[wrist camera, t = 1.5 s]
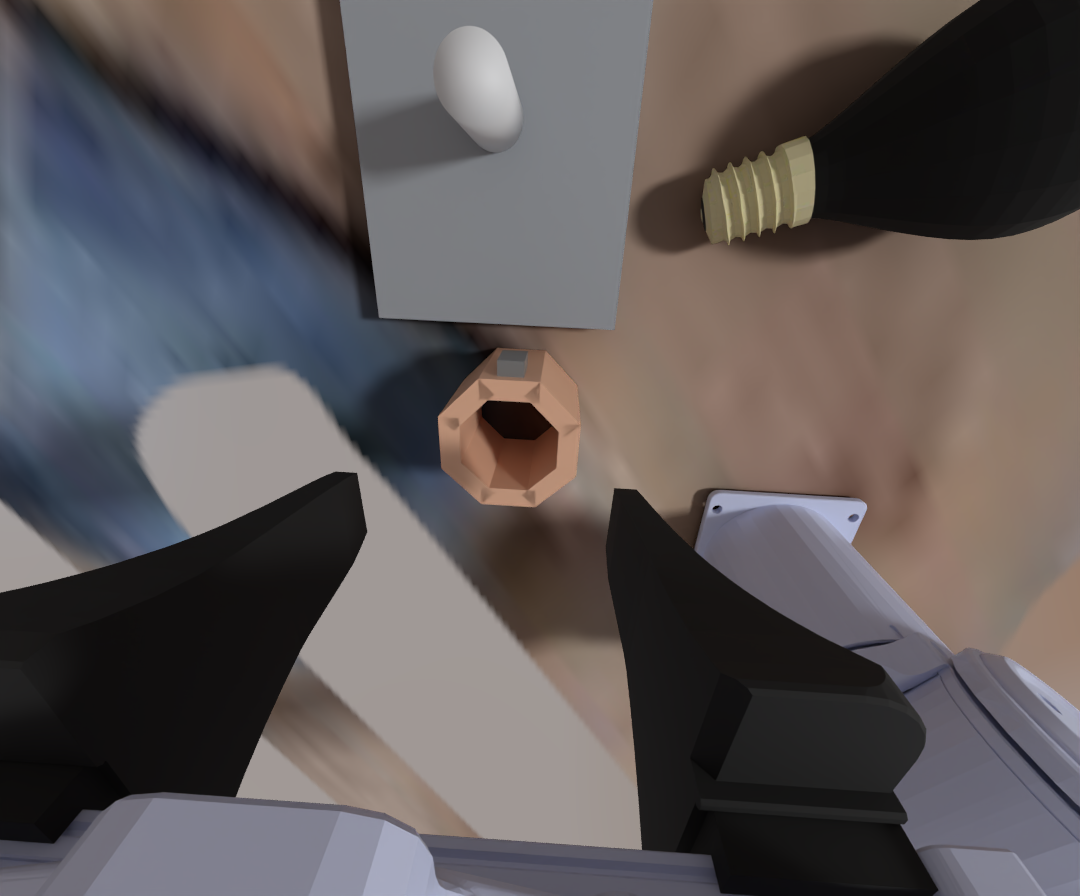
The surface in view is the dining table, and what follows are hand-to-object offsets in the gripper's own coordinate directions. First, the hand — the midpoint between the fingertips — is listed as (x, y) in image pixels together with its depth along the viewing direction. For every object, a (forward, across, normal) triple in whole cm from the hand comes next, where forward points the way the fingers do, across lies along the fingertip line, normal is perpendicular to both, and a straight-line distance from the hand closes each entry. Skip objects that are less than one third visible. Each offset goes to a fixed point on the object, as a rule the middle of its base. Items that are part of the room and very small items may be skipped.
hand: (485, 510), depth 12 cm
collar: (+10, 0, 0) cm, 10 cm away
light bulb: (+10, -12, -10) cm, 19 cm away
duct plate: (+10, +1, -10) cm, 14 cm away
